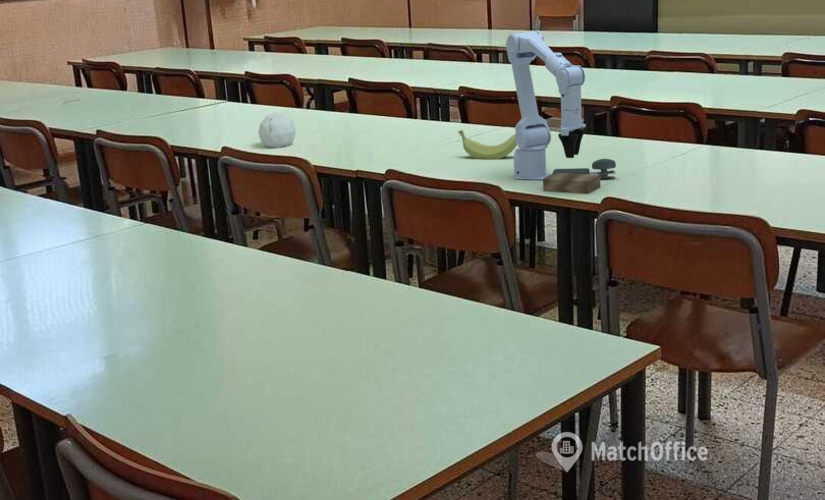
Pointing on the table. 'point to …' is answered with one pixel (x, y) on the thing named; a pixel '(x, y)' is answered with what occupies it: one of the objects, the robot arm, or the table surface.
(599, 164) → the can opener
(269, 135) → the geodesic sphere
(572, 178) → the walnut block
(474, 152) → the banana
